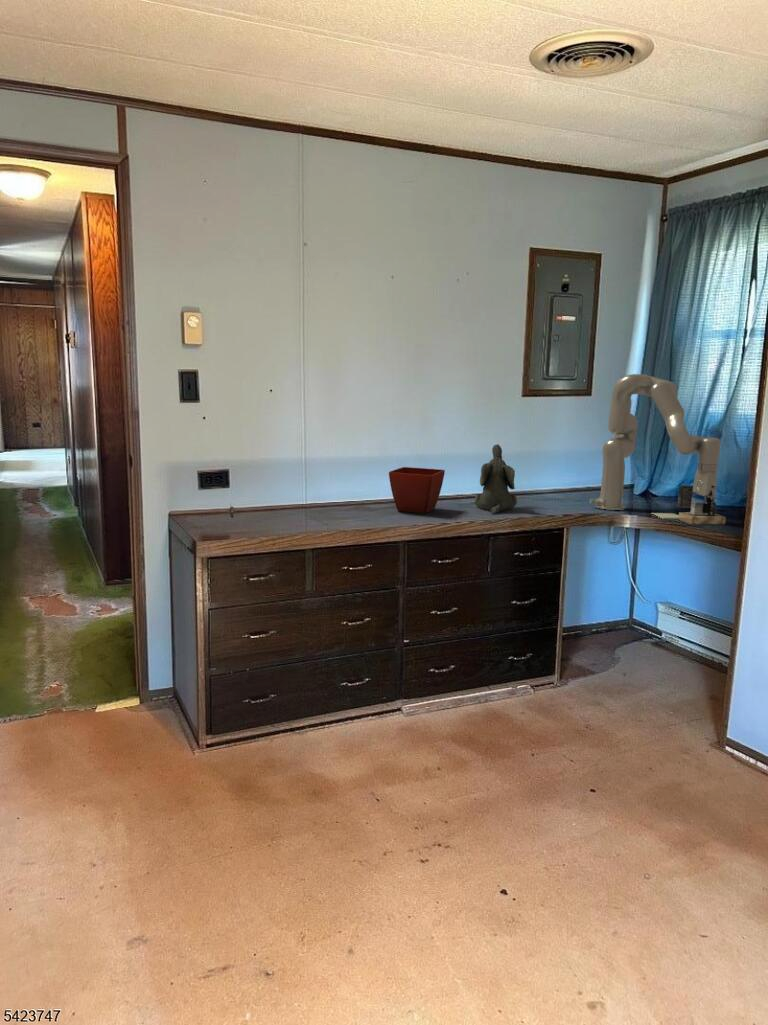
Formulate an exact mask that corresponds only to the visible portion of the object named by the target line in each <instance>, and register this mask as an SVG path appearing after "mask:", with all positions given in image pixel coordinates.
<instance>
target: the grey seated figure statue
mask: <svg viewBox="0 0 768 1025" xmlns="http://www.w3.org/2000/svg"><path fill="white" fill-rule="evenodd" d="M491 452H492V457H493V458H492V459H490V460H489V462H486V463H483V464H482V466H481V468H480V478H479V484H480V487H482V492H481V493H477V494H476V495H475V497H474V505H475V506H476V507H477V508H479V509H482V510H488V511H490V513H491V514H493V513H495V514H497V513H498V511H500V512H502V511H504V510H510V509H513V508H514V507H515V506H516V505H517V503H518V502H517V501H518V498H517V494H513V493H510V492H509V489H510V490H515V489H516V487H515V472H516V471H515V469H514V468H513V467H511V465H507V463H506V462H505V460H503V456H502V455H503V450H502V447H501V445H499V444H498V443H497V444H494V445H493V446H492V450H491Z"/></svg>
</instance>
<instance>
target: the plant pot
mask: <svg viewBox="0 0 768 1025" xmlns="http://www.w3.org/2000/svg"><path fill="white" fill-rule="evenodd" d="M445 471H446V470H445V469H441V468H440V469H438V468H437V469H436V468H427V467H424V468H423V467H413V466H411V467H410V466H409V467H408V466H402V467H400V468H396V469H394V470H391V471H390V470H389V471H388V479H389V484H390V489H391V493H392V497H393V501H394V503H395V507H396V510H397V511H398V512H407V513H419V514H426V513H429V512H431V511H432V510H434V509H435V508H436V506H437V503H438V500H439V497H440V493H441V490H442V487H443V483H444V478H445V473H446V472H445Z"/></svg>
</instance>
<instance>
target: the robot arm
mask: <svg viewBox="0 0 768 1025" xmlns="http://www.w3.org/2000/svg"><path fill="white" fill-rule="evenodd" d="M633 395H644V396H647V397H651V398H652V400H653V402H654V403H655V405H656V407H657V409H658V410H659V412H660V414H661V416H662V419H663V420H664V422H665V424H664V425H665V428H666V432H667V434H668V437H669V439H670V441H671V442H672V444H673V446H674V448H675V449H676V450H677V452H679V453H680V454H681V455H685V456H687V455H694V454H698V462H697V470H696V472H695V475H694V480H693V485H692V486H693V492H696V494H698V495H699V496H704V503H703V511H702V513H710V509H711V504H712V501H713V500H714V501H715V499H716V498H717V496H716V495H717V494H716V493H717V487H718V486H717V485H718V467H719V465H718V464H719V460H720V450H721V440H720V439H719V438H717V437H716V438H715V437H702V436H698V435H690V433H689V431H688V430H687V428H686V425H685V423H684V416H685V409H684V407H683V406H682V404H681V403H680V401H679V399H678V397H677V396H678V388H677V385H676V384H675V383H674V382H672V381H669V380H666V379H662V378H659V377H655V376H651V375H649V374H639V373H636V374H635V373H633V374H627V375H625V376H623V377H620V378H619V379H618V380H617V382H616V383H615V384H614V386H613V389H612V394H611V403H610V411H609V418H608V430H609V431H610V433H611V434H612V435H615V437H612V438H609V439H607V440H606V441H605V442H604V444H603V446H602V470H601V471H602V474H601V487H600V495H599V496H598V497H597V498H596V499H595V498H594V499H592V498H590V499H589V504H590V505H591V504H593V505H594V504H595V508H597V509H599V508H600V510H604V509H606V510H605V511H614V510H620V511H624V510H623V509H626V506H625V505H623V495H624V488H625V487H624V486H625V477H626V476H625V474H626V461H625V459H626V458H629V457H630V456H631V455H632V454H633V453H634V451H635V447H636V444H637V443H636V440H637V436H638V435H637V433H638V420H637V417H636V416H635V415H634V414H632V413H631V412H632V410H631V409H632V396H633ZM707 495H709V496H707ZM707 497H709V498H708V499H707Z"/></svg>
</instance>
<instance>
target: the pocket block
mask: <svg viewBox="0 0 768 1025" xmlns="http://www.w3.org/2000/svg"><path fill="white" fill-rule="evenodd" d="M678 515H679V518H678V519H677V520H678V521H681V522H684V523H687V524H689V525H726V519H727V517H726V516H724V515H720V514H718V513H715V516H692V515H690V512H682V511H681V512H678Z"/></svg>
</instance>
